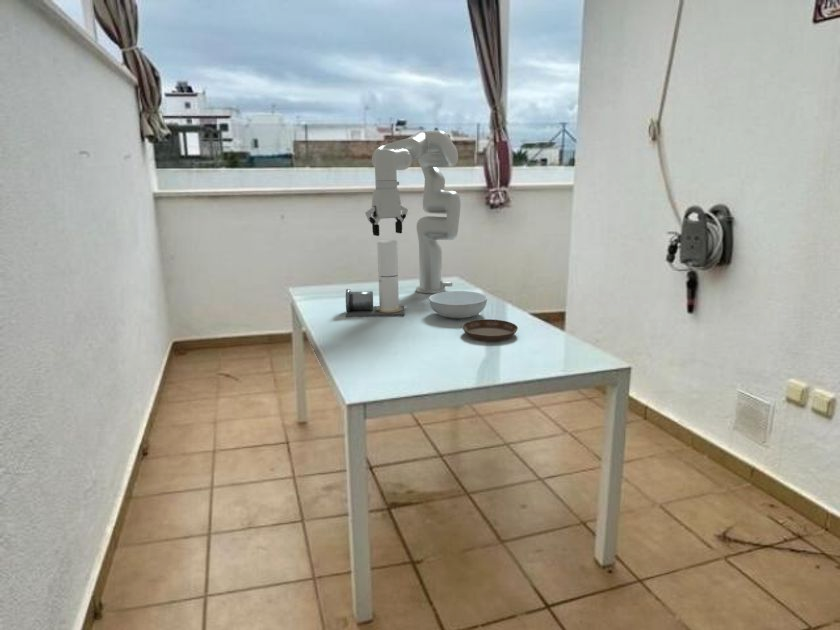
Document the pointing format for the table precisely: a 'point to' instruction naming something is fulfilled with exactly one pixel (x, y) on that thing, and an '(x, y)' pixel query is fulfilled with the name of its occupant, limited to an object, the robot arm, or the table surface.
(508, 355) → the table surface
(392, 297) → the cylindrical container
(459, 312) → the serving bowl
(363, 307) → the pipe fitting board
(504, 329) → the plant saucer
